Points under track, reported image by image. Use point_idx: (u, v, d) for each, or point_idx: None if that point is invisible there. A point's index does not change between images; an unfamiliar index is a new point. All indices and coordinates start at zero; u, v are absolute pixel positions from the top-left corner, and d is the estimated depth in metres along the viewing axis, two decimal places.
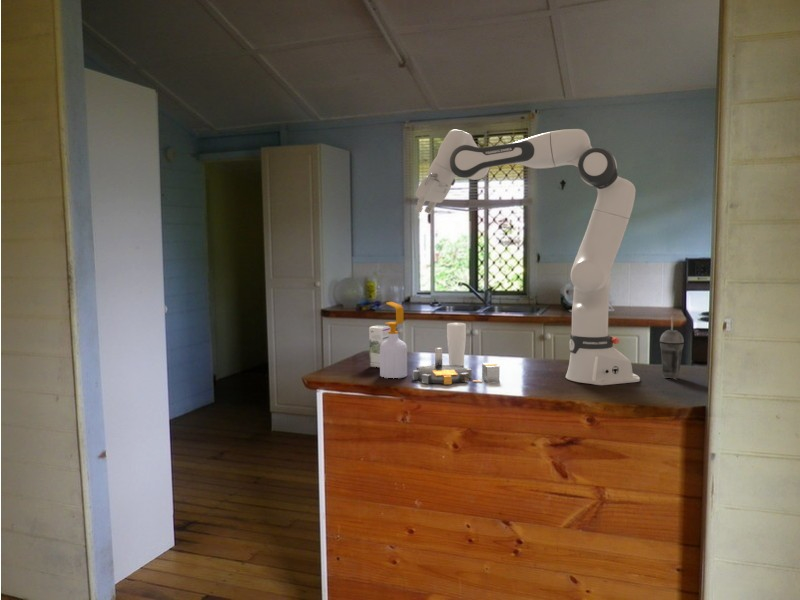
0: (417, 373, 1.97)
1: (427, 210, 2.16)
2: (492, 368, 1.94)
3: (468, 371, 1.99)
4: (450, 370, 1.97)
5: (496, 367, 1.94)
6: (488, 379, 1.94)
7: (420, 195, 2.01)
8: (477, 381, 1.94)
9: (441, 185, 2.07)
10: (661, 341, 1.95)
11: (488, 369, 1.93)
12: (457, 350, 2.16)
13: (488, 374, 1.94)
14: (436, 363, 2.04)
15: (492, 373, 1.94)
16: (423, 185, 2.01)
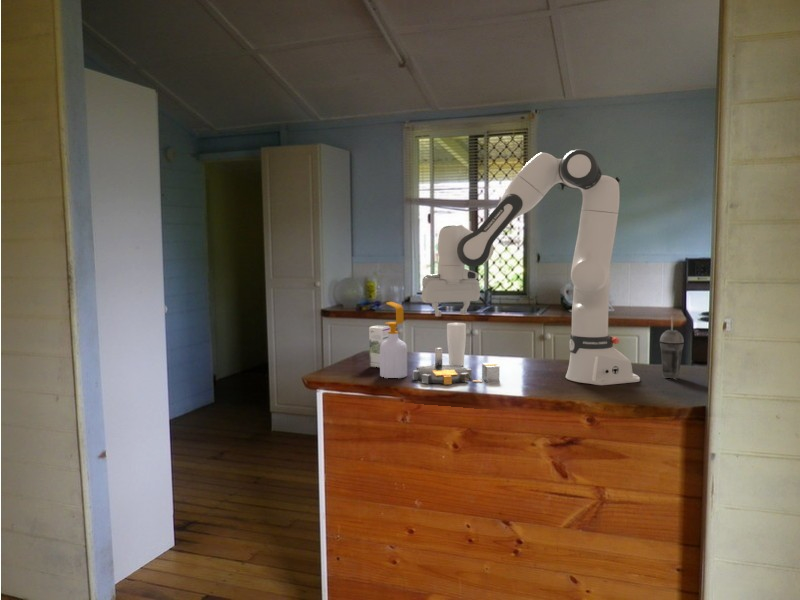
0: (417, 373, 1.97)
1: (461, 312, 2.07)
2: (492, 368, 1.94)
3: (468, 371, 1.99)
4: (450, 370, 1.97)
5: (496, 367, 1.94)
6: (488, 379, 1.94)
7: (423, 298, 2.00)
8: (477, 381, 1.94)
9: (449, 282, 2.01)
10: (661, 341, 1.95)
11: (488, 369, 1.93)
12: (457, 350, 2.16)
13: (488, 374, 1.94)
14: (436, 363, 2.04)
15: (492, 373, 1.94)
16: (423, 289, 2.01)
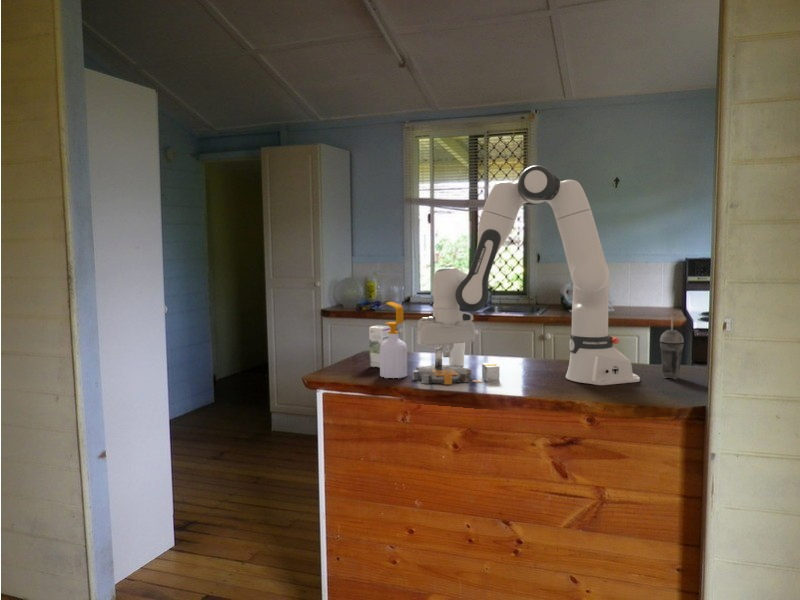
0: (417, 373, 1.97)
1: None
2: (492, 368, 1.94)
3: (468, 371, 1.99)
4: (450, 370, 1.97)
5: (496, 367, 1.94)
6: (488, 379, 1.94)
7: (419, 341, 2.01)
8: (477, 381, 1.94)
9: (444, 325, 2.02)
10: (661, 341, 1.95)
11: (488, 369, 1.93)
12: (457, 350, 2.16)
13: (488, 374, 1.94)
14: (436, 363, 2.04)
15: (492, 373, 1.94)
16: (418, 332, 2.02)
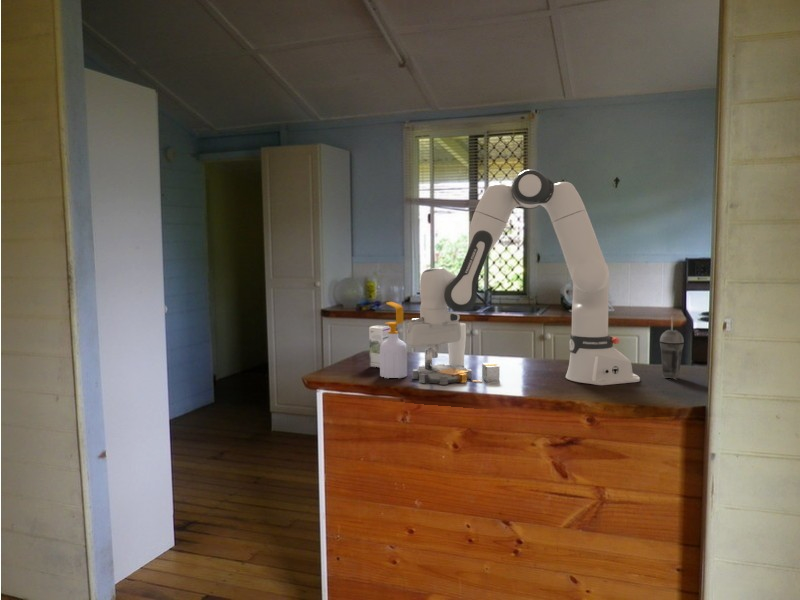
0: (427, 376, 1.92)
1: None
2: (492, 368, 1.94)
3: None
4: (451, 369, 1.99)
5: (496, 367, 1.94)
6: (488, 379, 1.94)
7: (409, 343, 1.99)
8: (477, 381, 1.94)
9: (433, 325, 2.01)
10: (661, 341, 1.95)
11: (488, 369, 1.93)
12: (457, 350, 2.16)
13: (488, 374, 1.94)
14: (428, 364, 2.02)
15: (492, 373, 1.94)
16: (408, 333, 1.99)
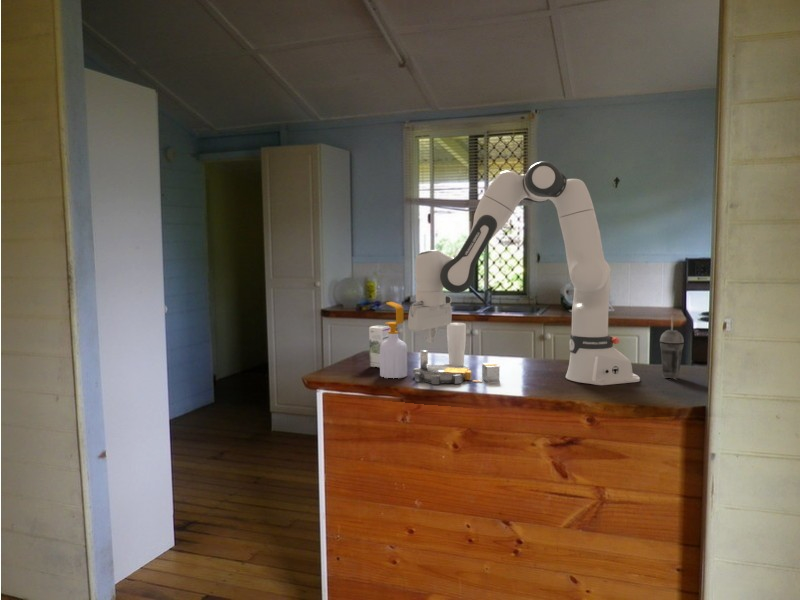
0: (440, 377, 1.91)
1: None
2: (492, 368, 1.94)
3: None
4: (449, 368, 2.00)
5: (496, 367, 1.94)
6: (488, 379, 1.94)
7: (412, 328, 1.93)
8: (477, 381, 1.94)
9: (433, 309, 1.98)
10: (661, 341, 1.95)
11: (488, 369, 1.93)
12: (457, 350, 2.16)
13: (488, 374, 1.94)
14: (425, 366, 1.99)
15: (492, 373, 1.94)
16: (411, 317, 1.94)
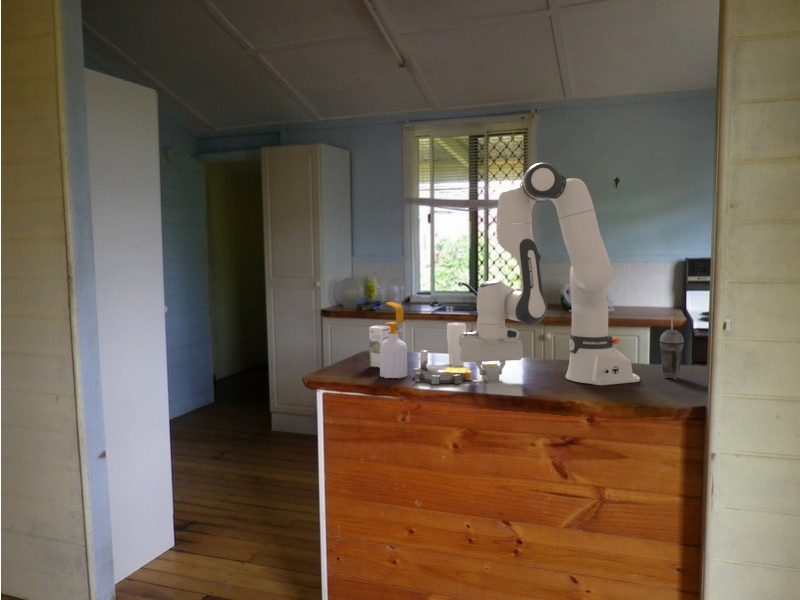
0: (440, 377, 1.91)
1: None
2: (492, 368, 1.94)
3: None
4: (449, 368, 2.00)
5: (496, 367, 1.94)
6: (488, 379, 1.94)
7: (460, 357, 1.95)
8: (477, 381, 1.94)
9: (487, 341, 1.93)
10: (661, 341, 1.95)
11: (488, 369, 1.93)
12: (457, 350, 2.16)
13: (488, 374, 1.94)
14: (425, 366, 1.99)
15: (492, 373, 1.94)
16: (460, 347, 1.95)
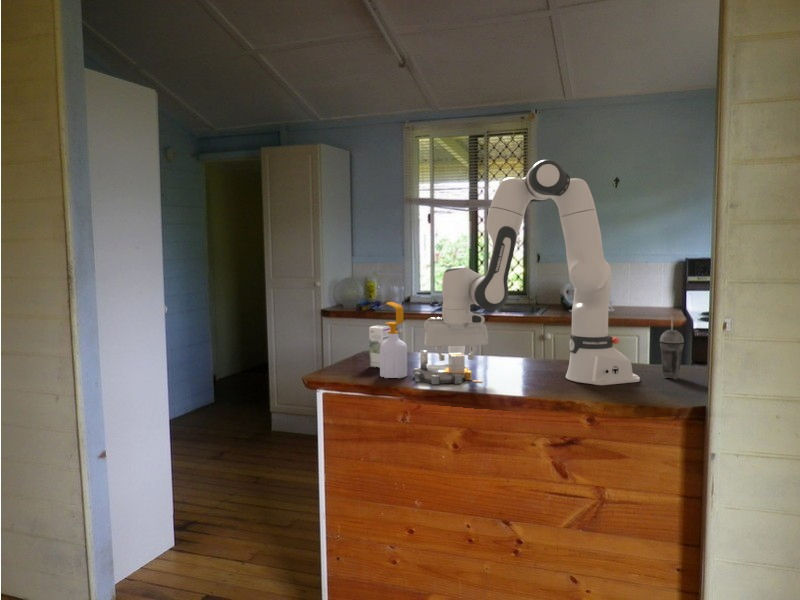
0: (440, 377, 1.91)
1: (468, 356, 1.98)
2: (457, 358, 1.94)
3: None
4: None
5: (461, 357, 1.95)
6: (453, 369, 1.95)
7: (425, 342, 1.95)
8: (477, 381, 1.94)
9: (452, 326, 1.94)
10: (661, 341, 1.95)
11: (453, 359, 1.94)
12: (457, 350, 2.16)
13: (453, 364, 1.94)
14: (425, 366, 1.99)
15: (457, 363, 1.95)
16: (425, 332, 1.96)
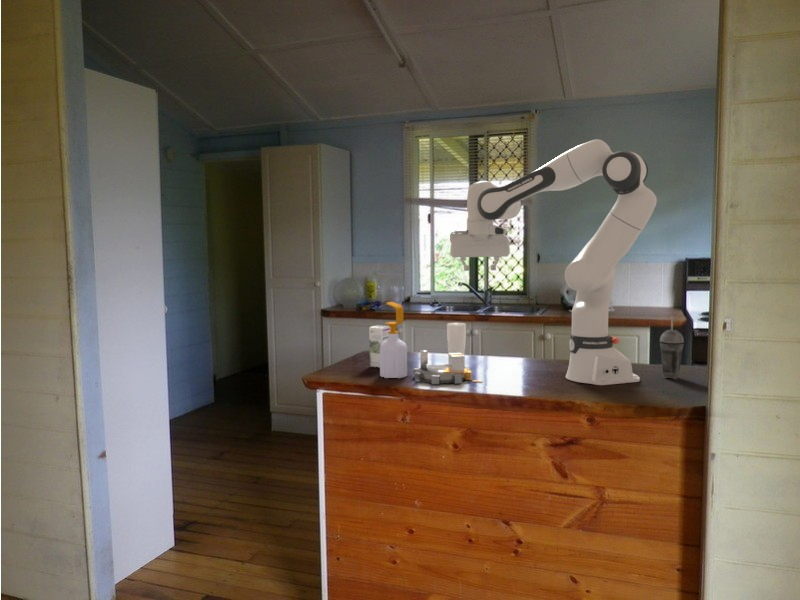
0: (440, 377, 1.91)
1: (491, 267, 2.12)
2: (457, 358, 1.94)
3: None
4: None
5: (461, 357, 1.95)
6: (453, 369, 1.95)
7: (451, 253, 2.09)
8: (477, 381, 1.94)
9: (476, 237, 2.08)
10: (661, 341, 1.95)
11: (453, 359, 1.94)
12: (457, 350, 2.16)
13: (453, 364, 1.94)
14: (425, 366, 1.99)
15: (457, 363, 1.95)
16: (451, 244, 2.10)
